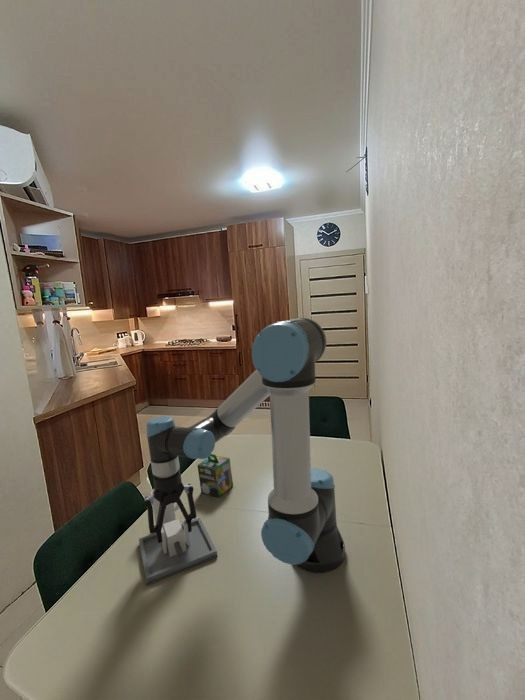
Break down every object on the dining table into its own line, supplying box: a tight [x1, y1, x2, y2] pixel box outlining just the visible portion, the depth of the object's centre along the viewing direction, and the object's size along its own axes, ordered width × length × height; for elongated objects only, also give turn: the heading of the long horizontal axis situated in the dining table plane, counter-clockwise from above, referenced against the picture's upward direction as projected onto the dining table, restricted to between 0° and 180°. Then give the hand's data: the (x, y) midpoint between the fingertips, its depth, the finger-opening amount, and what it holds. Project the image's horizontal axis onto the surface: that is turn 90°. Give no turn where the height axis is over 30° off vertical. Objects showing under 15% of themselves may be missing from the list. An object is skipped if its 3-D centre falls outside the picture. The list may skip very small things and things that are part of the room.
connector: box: [163, 518, 186, 557], centre depth 100 cm, size 15×5×6 cm, turn 25°
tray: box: [138, 517, 218, 586], centre depth 101 cm, size 18×19×2 cm
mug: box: [150, 488, 180, 530], centre depth 114 cm, size 10×7×12 cm, turn 144°
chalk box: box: [197, 453, 234, 498], centre depth 132 cm, size 9×9×15 cm
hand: (176, 546), depth 101 cm, fingers open, 6 cm apart
